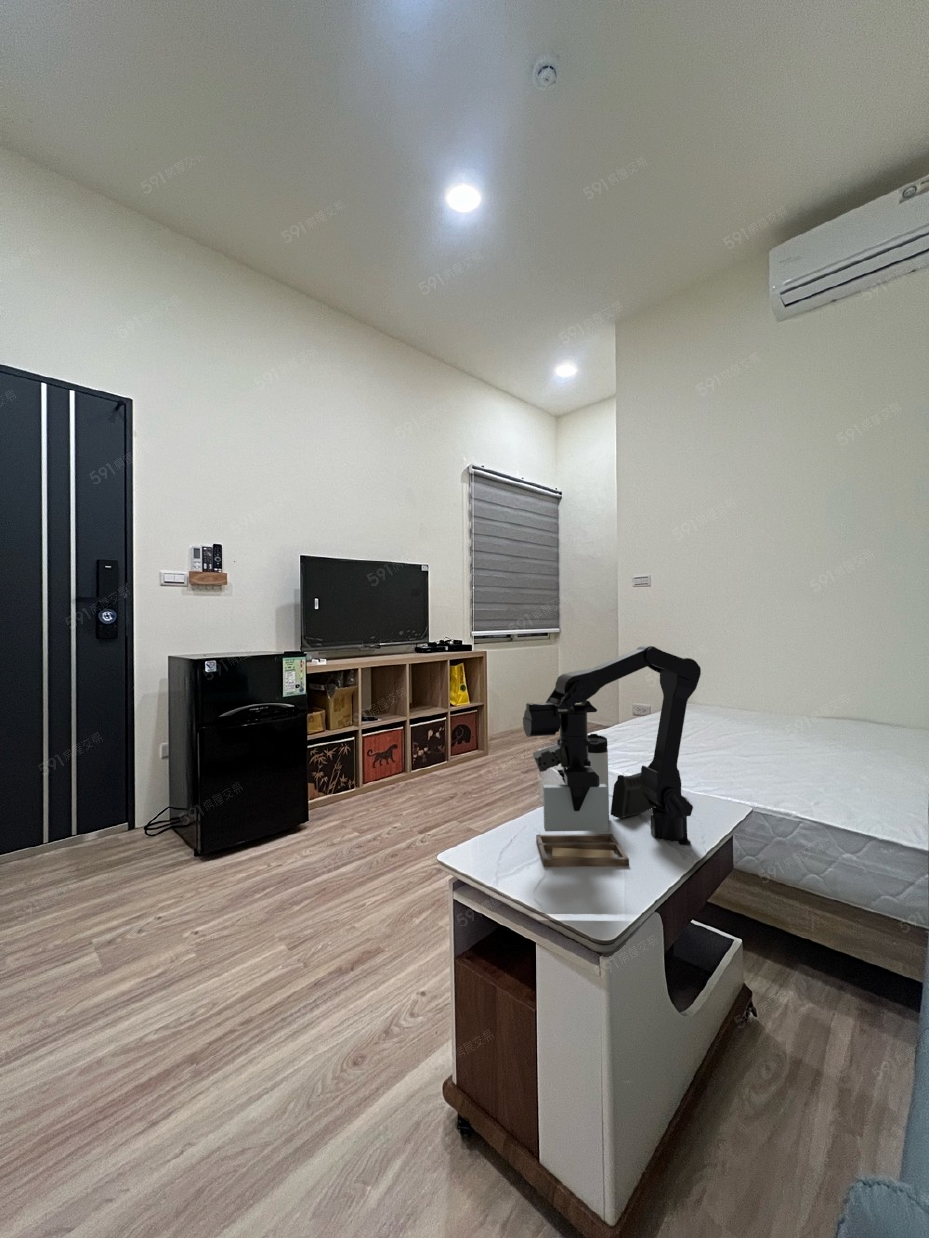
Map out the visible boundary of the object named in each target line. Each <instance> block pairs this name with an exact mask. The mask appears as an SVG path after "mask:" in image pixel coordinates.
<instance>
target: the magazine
mask: <svg viewBox="0 0 929 1238" xmlns="http://www.w3.org/2000/svg"><path fill="white" fill-rule="evenodd" d="M678 772H679V775H680V774H681V773H680V769H678ZM680 776H681V775H680ZM640 777H641V772H637V773H634V774H632V775H625V776H624V775H622V774H619V775H617V777H616V781H615V782H614V785H613V790H612V791H613V792H612V796H611V797H612V800H611V806H610V812H609V815H610V816H613V817H614V818H618V819H624V818H626V817H631V816H636V815H639V814H643V813H646V812H648V811H650V810H652V809H653V808H655V807H653V806H651V805H649V802H648V800H647V798H646V797H645V796H644V795H643V793H642V792H641V784H639V783H638V782H639V780H640ZM651 808H652V809H651ZM649 809H650V810H649ZM647 810H648V811H647ZM645 811H646V812H645Z"/></svg>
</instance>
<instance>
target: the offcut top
mask: <svg viewBox="0 0 929 1238" xmlns="http://www.w3.org/2000/svg"><path fill="white" fill-rule="evenodd" d="M551 853H552V858H600V857H616V856H615V855H616V854H615V851H613V850H593V849H573V848H553V847H552V851H551Z"/></svg>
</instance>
